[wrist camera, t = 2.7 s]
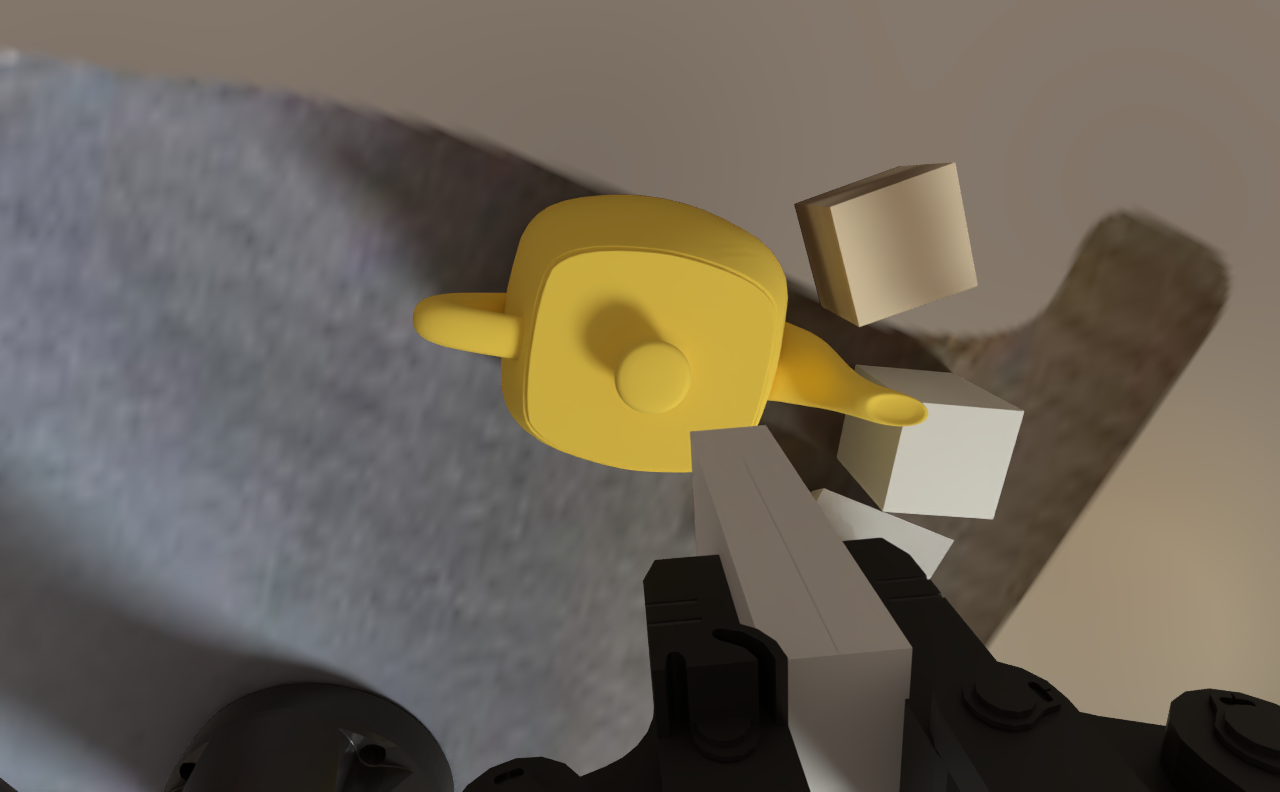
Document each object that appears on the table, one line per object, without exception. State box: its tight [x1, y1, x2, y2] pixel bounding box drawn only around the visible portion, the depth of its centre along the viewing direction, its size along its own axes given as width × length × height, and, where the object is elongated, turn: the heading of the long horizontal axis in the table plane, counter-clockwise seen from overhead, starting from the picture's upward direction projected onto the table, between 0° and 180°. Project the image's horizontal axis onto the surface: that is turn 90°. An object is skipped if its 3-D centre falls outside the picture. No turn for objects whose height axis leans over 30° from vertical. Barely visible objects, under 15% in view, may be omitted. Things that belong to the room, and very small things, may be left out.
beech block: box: [794, 162, 978, 327], centre depth 29 cm, size 5×5×5 cm
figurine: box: [811, 488, 954, 580], centre depth 28 cm, size 7×9×15 cm
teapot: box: [413, 194, 928, 472], centre depth 26 cm, size 18×11×11 cm, turn 79°
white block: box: [837, 365, 1024, 519], centre depth 31 cm, size 5×5×6 cm
